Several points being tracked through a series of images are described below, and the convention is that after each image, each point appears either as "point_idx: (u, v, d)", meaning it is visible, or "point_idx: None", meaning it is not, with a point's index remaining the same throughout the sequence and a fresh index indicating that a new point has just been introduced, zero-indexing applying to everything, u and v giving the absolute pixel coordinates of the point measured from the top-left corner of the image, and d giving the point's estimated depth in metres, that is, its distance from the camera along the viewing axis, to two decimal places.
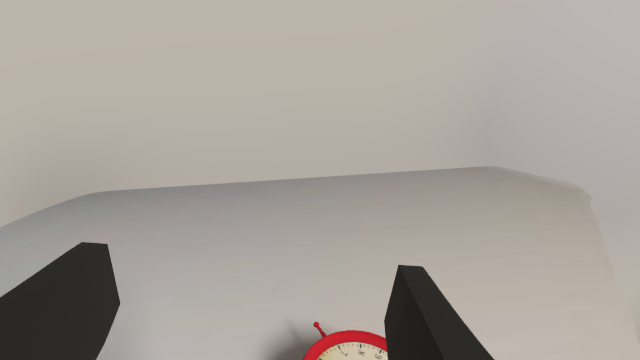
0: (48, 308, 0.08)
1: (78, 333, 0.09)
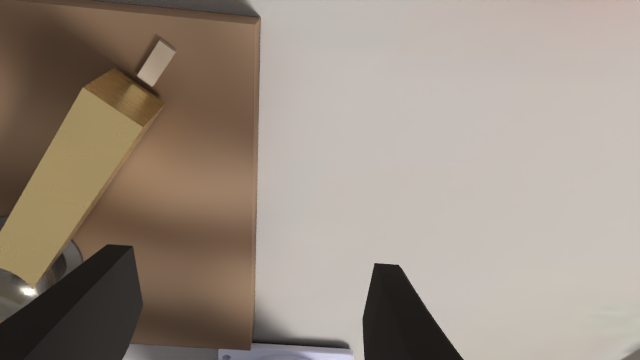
0: (80, 310, 0.08)
1: (106, 335, 0.09)
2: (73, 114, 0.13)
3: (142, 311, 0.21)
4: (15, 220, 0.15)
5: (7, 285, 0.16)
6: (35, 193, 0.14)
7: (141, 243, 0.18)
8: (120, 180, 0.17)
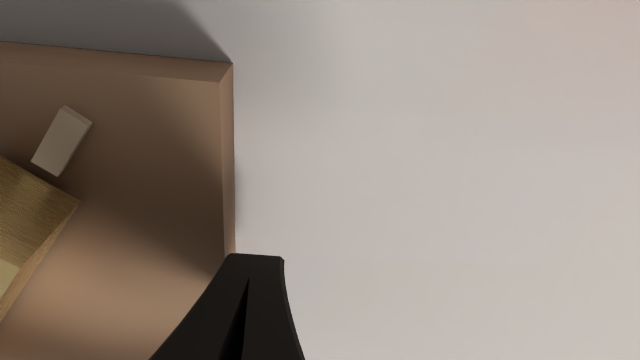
0: (235, 320, 0.08)
1: (242, 343, 0.09)
2: None
3: None
4: None
5: None
6: None
7: None
8: (29, 298, 0.11)
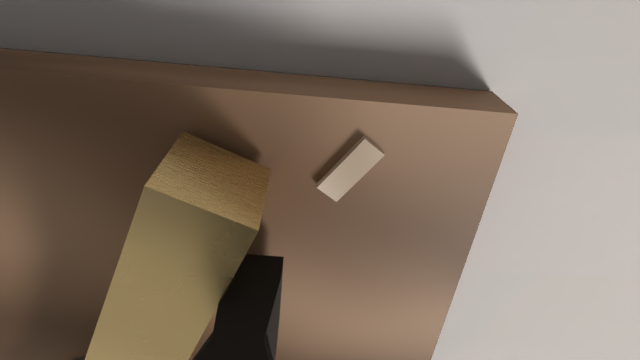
0: (270, 322, 0.08)
1: (272, 345, 0.09)
2: (137, 233, 0.07)
3: None
4: None
5: None
6: (103, 357, 0.09)
7: None
8: None
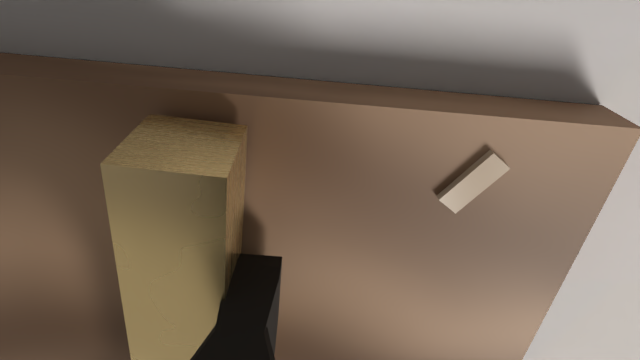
0: (268, 322, 0.08)
1: (271, 345, 0.09)
2: (117, 216, 0.07)
3: None
4: None
5: None
6: (146, 354, 0.09)
7: None
8: (356, 322, 0.12)
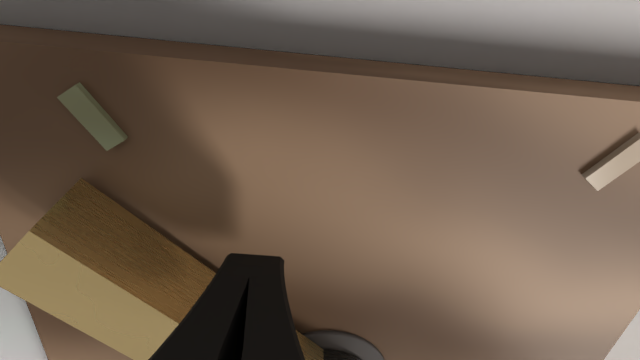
0: (235, 320, 0.08)
1: (242, 343, 0.09)
2: (31, 298, 0.10)
3: None
4: None
5: None
6: None
7: (465, 359, 0.15)
8: (481, 293, 0.13)
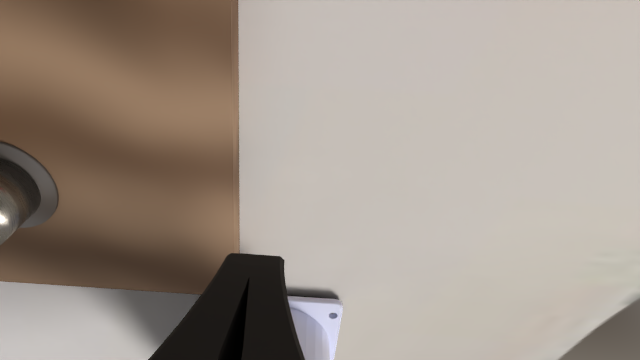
0: (235, 320, 0.08)
1: (242, 343, 0.09)
2: None
3: (121, 251, 0.20)
4: None
5: None
6: None
7: (118, 173, 0.18)
8: (93, 100, 0.16)
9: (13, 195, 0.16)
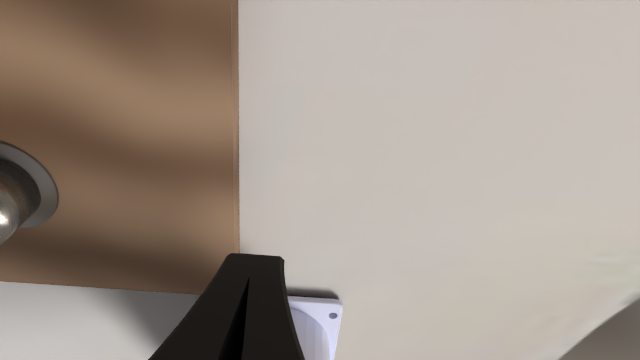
0: (235, 320, 0.08)
1: (242, 343, 0.09)
2: None
3: (121, 251, 0.20)
4: None
5: None
6: None
7: (118, 173, 0.18)
8: (93, 100, 0.16)
9: (13, 195, 0.16)
